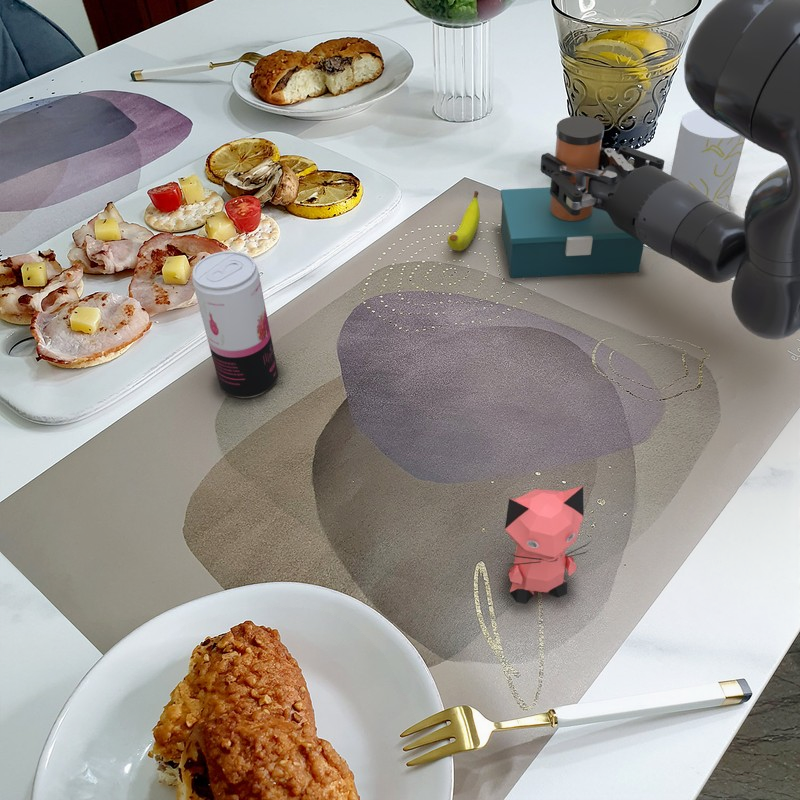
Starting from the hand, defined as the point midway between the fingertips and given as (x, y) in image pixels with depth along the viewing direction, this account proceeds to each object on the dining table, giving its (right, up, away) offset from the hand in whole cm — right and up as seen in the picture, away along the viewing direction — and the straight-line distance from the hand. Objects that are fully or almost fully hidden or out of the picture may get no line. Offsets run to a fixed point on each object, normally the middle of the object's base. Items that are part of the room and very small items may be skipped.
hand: (562, 154), depth 104 cm
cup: (+21, -3, +13) cm, 25 cm away
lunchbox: (+2, -10, +7) cm, 13 cm away
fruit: (-11, -9, +10) cm, 17 cm away
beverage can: (-36, -28, -8) cm, 46 cm away
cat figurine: (-8, -46, -29) cm, 54 cm away
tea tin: (+2, -6, +3) cm, 7 cm away
